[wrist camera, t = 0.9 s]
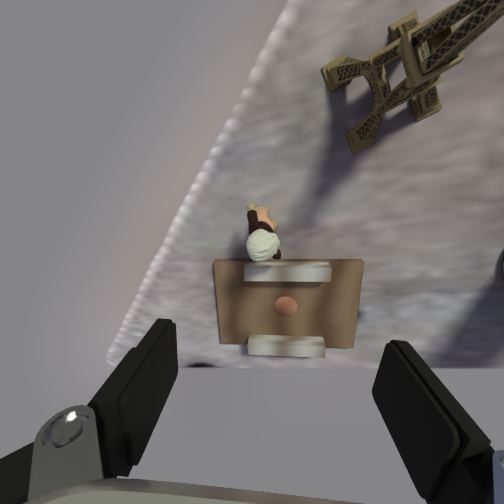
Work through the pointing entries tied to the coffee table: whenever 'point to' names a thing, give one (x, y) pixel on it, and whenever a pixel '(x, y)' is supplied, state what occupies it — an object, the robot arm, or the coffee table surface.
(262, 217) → the grandmother figurine
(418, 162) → the coffee table surface
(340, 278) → the board
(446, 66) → the eiffel tower
